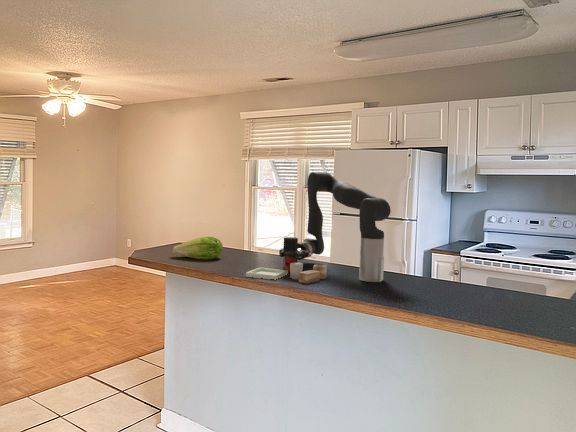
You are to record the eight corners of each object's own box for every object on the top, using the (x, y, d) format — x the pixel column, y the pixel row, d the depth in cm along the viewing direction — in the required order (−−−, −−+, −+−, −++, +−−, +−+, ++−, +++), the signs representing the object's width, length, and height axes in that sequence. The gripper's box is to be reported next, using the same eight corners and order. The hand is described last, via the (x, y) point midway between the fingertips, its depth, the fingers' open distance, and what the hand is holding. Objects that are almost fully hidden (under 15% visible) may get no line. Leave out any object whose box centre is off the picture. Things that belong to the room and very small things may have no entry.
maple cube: (326, 276, 201) (326, 264, 200) (325, 279, 196) (325, 266, 196) (314, 276, 202) (314, 264, 201) (312, 278, 197) (313, 266, 196)
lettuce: (177, 244, 247) (171, 232, 236) (225, 243, 246) (221, 230, 235) (174, 265, 240) (168, 254, 230) (223, 264, 239) (219, 252, 229)
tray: (287, 274, 202) (287, 270, 202) (275, 280, 190) (275, 275, 190) (259, 271, 207) (259, 267, 207) (246, 276, 195) (246, 272, 195)
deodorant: (279, 272, 206) (280, 237, 205) (289, 271, 210) (290, 237, 209) (289, 275, 201) (290, 239, 200) (299, 273, 206) (300, 238, 205)
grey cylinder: (304, 277, 196) (304, 263, 196) (299, 280, 192) (299, 265, 191) (293, 276, 199) (293, 262, 198) (287, 278, 194) (288, 263, 194)
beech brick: (319, 281, 192) (319, 271, 191) (306, 284, 186) (307, 273, 185) (311, 279, 194) (311, 269, 194) (298, 282, 188) (299, 272, 188)
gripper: (287, 241, 221) (272, 245, 205) (317, 243, 216) (304, 247, 200) (286, 257, 221) (272, 262, 206) (316, 260, 216) (304, 265, 200)
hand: (288, 255), depth 203 cm, fingers closed on deodorant, 6 cm apart
